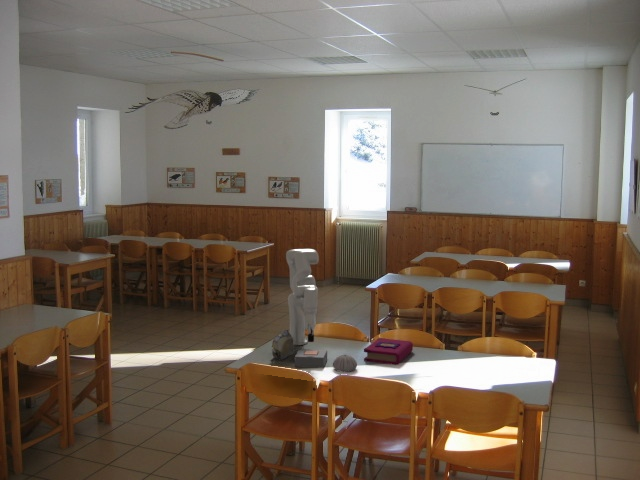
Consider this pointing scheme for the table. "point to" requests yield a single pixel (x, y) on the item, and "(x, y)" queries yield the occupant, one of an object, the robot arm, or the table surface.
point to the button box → (311, 358)
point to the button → (311, 353)
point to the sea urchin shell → (345, 363)
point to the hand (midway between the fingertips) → (310, 341)
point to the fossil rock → (283, 345)
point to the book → (388, 351)
